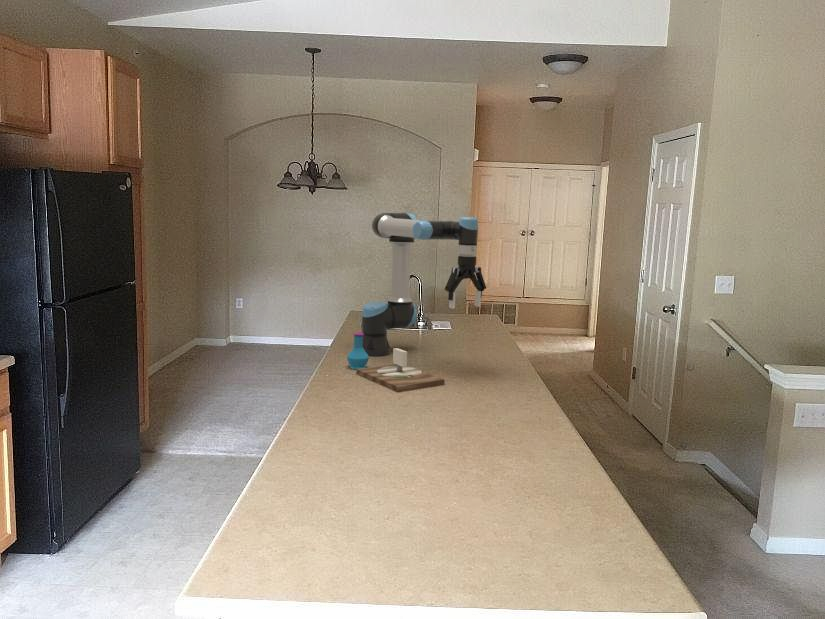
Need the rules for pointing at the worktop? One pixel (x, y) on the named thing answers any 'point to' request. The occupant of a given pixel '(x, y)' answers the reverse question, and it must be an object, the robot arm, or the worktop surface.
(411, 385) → the tuner board
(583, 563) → the worktop surface
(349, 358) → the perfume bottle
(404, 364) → the beige block with bar
